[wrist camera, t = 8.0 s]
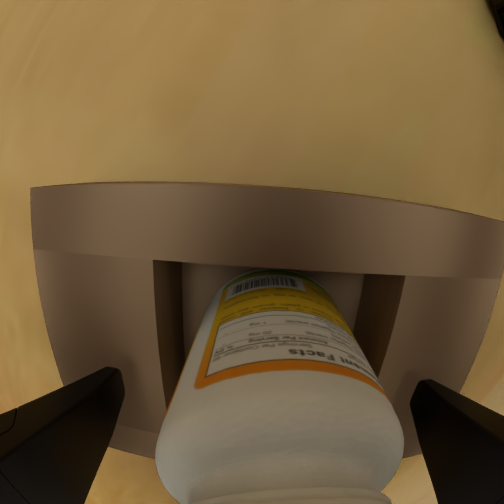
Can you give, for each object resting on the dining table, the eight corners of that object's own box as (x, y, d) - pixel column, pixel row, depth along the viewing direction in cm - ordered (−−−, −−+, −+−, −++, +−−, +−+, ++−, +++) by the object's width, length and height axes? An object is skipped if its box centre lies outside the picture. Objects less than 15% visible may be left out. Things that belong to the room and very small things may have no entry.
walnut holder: (452, 209, 11) (511, 223, 7) (398, 405, 13) (423, 453, 10) (90, 182, 11) (30, 187, 7) (114, 390, 14) (85, 438, 10)
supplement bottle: (273, 398, 12) (281, 600, 3) (178, 331, 12) (77, 551, 2) (363, 320, 11) (483, 526, 2) (267, 233, 11) (301, 530, 1)
